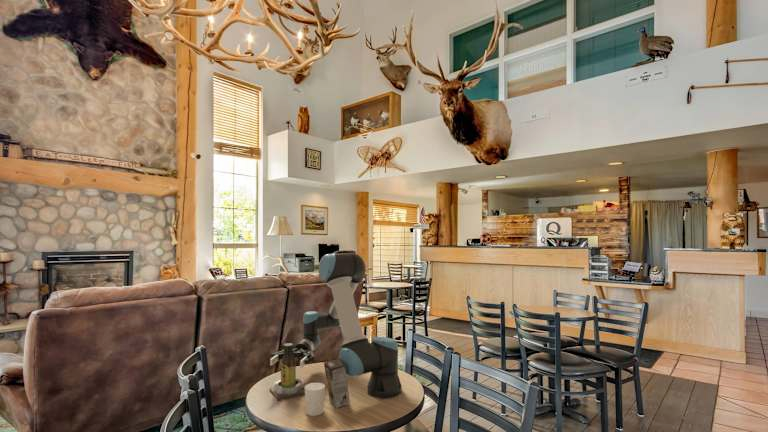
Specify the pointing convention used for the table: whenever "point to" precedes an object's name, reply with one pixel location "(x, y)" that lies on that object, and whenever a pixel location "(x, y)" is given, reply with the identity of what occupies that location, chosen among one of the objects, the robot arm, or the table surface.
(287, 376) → the sauce bottle
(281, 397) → the walnut base
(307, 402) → the white cup
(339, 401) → the coffee box
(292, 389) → the steel collar
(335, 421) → the table surface
